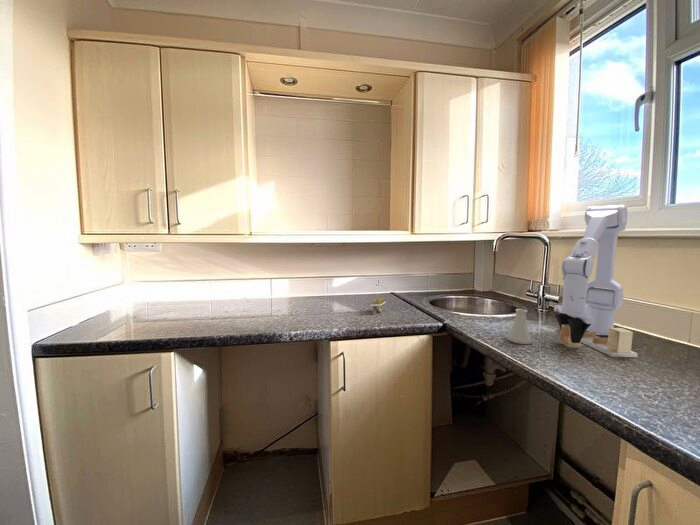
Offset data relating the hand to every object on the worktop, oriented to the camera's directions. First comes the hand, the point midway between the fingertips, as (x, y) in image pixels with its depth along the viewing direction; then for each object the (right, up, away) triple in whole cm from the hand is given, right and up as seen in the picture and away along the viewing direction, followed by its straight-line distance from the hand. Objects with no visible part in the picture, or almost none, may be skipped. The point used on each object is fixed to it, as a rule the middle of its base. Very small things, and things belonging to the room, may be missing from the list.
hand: (570, 340), depth 93 cm
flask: (-14, -1, +3) cm, 14 cm away
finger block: (0, -2, 0) cm, 2 cm away
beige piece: (+9, -2, -1) cm, 9 cm away
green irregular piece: (-56, +2, +34) cm, 66 cm away
